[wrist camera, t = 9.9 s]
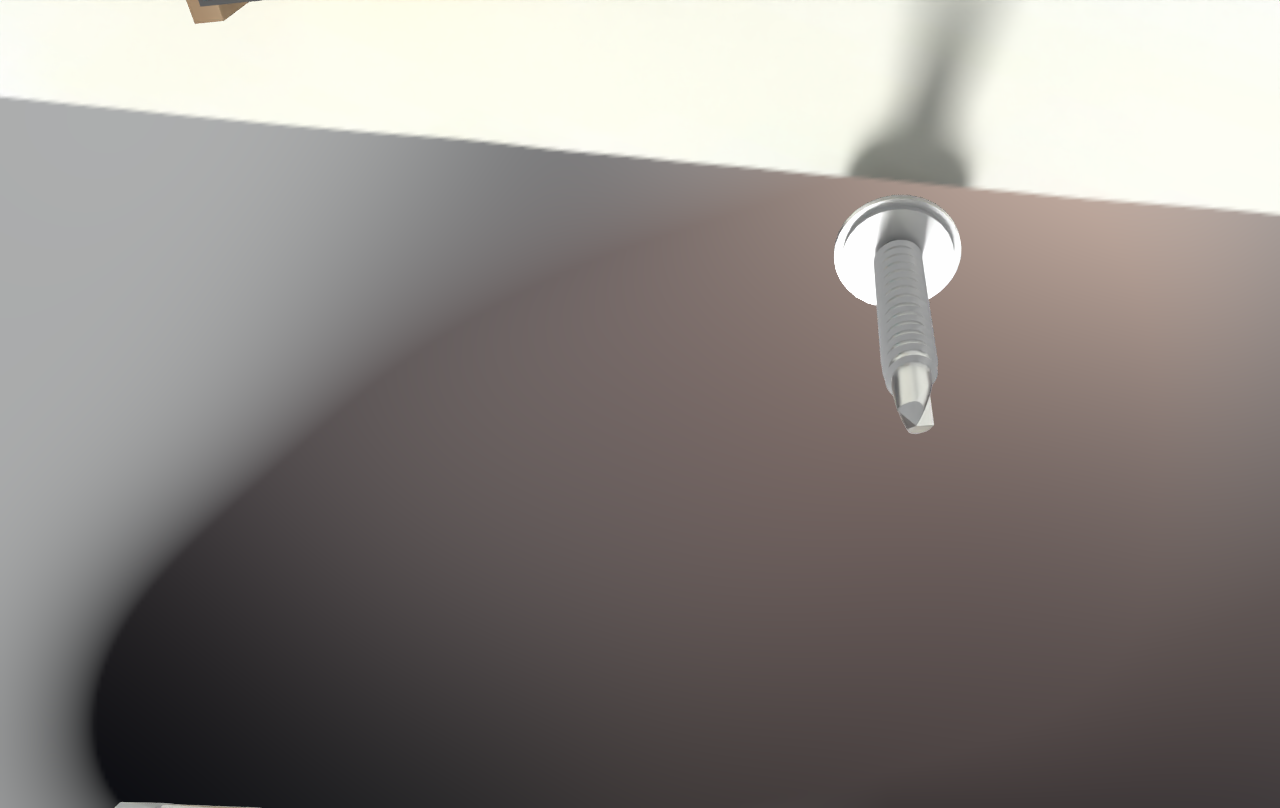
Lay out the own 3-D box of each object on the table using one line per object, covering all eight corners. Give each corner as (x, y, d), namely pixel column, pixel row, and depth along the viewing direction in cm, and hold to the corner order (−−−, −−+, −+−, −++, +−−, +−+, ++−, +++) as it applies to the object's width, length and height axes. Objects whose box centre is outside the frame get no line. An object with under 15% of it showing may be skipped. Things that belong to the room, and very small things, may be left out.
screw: (869, 155, 43) (979, 203, 44) (813, 254, 46) (917, 297, 47) (884, 339, 33) (1028, 398, 33) (811, 451, 36) (944, 504, 36)
